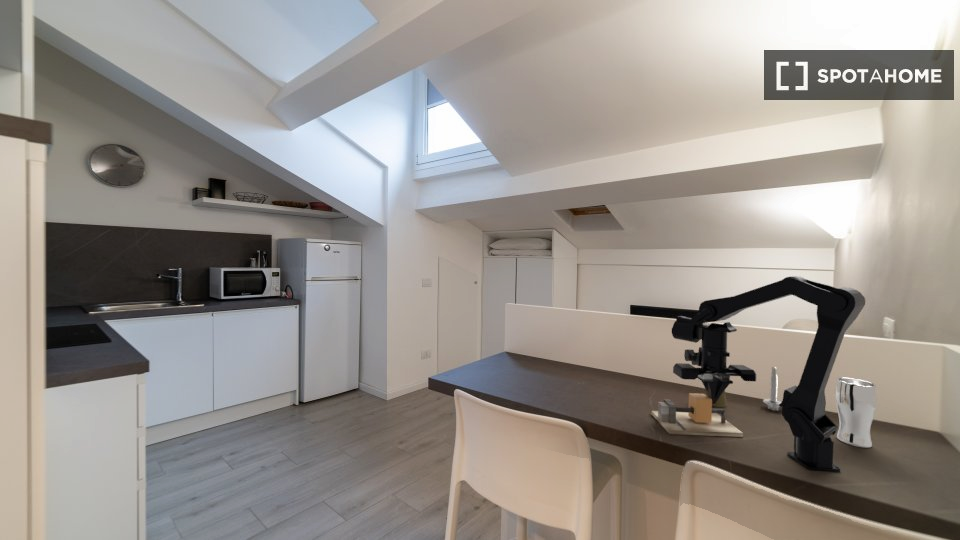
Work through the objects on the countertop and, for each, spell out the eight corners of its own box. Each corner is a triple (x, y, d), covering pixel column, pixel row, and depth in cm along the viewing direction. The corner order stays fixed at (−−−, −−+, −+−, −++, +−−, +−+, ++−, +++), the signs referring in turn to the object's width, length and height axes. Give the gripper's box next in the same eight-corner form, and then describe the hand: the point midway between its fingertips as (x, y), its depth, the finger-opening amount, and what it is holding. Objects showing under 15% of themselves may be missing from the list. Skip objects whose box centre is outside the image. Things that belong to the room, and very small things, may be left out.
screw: (776, 413, 107) (759, 407, 111) (787, 411, 108) (769, 404, 113) (778, 369, 106) (760, 364, 111) (788, 367, 108) (770, 363, 112)
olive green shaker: (730, 408, 110) (731, 372, 110) (708, 406, 112) (709, 370, 111) (721, 400, 116) (722, 366, 116) (700, 398, 118) (701, 365, 117)
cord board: (743, 436, 92) (743, 413, 92) (669, 433, 94) (669, 410, 94) (716, 416, 104) (717, 395, 104) (651, 414, 106) (651, 393, 106)
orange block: (711, 422, 97) (711, 399, 97) (695, 422, 97) (696, 398, 97) (703, 416, 101) (704, 393, 101) (688, 415, 101) (688, 393, 101)
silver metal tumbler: (832, 432, 95) (834, 375, 95) (871, 440, 91) (873, 381, 90) (836, 442, 90) (838, 382, 89) (877, 452, 85) (879, 388, 85)
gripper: (732, 340, 105) (731, 393, 106) (665, 338, 107) (664, 391, 107) (758, 349, 94) (756, 409, 95) (683, 348, 96) (681, 406, 96)
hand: (712, 403), depth 99 cm, fingers closed
